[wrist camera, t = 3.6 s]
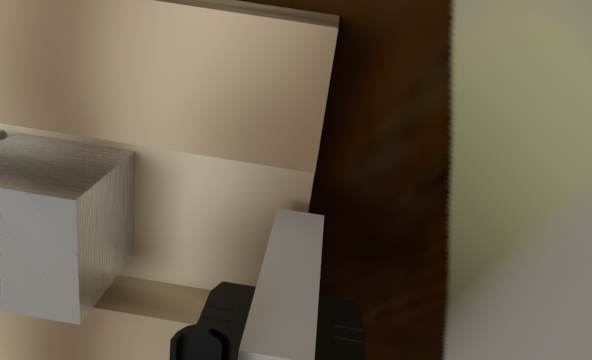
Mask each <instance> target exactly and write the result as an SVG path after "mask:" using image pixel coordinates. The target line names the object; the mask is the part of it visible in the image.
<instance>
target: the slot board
mask: <svg viewBox="0 0 592 360" xmlns="http://www.w3.org/2000/svg"><path fill="white" fill-rule="evenodd" d="M338 27H339V16H338V15H332V14H325V13H318V12H311V11H305V10H298V9H291V8H285V7H278V6H271V5H264V4H258V3H251V2H244V1H238V0H0V129H1V130H4V139H5V138H7V137H9V136H11V135H13V134H15V133H18V132H19V133H26V134H32V135H38V136H45V137H51V138H57V139H63V140H70V141H76V142H82V143H89V144H95V145H101V146H108V147H114V148H120V149H126V150H133V151H135V195H134V255H133V256H132V257H131V259H130V260H129V261H128V262H127V264H126V265H125V266H124V268H123V269H122V270H121V272H120V273H119V274H118V276H117V277H116V278H115V280H114V281H113V282H112V284H111V285H110V286H109V288H108V289H107V290H106V292H105V293H104V294H103V296H102V297H101V298H100V299H99V301H98V302H97V303H96V305H95V306H94V307H93V309H92V310H91V311H90V313H89V314H88V315H87V317H86V318H85V319H84V321H83V322H82V323H81V325H78V324H72V323H66V322H60V321H54V320H49V319H43V318H37V317H31V316H25V315H19V314H13V313H7V312H1V311H0V360H169V357H170V340H171V338H172V337H173V336H174V335H175V333H176V332H177V331H179V330H181V329H183V328H184V327H186V326H189V325H194V324H197V322H198V319H199V317H200V314H201V312H202V310H203V307H204V306H205V302H206V300H207V298H208V295H209V293H210V291H211V290H212V289H213V288H215V287H216V286H217V285H218V284H220V283H221V282H222V281H225V282H231V283H237V284H243V285H249V286H255V287H256V285H257V282H258V278H259V274H260V271H261V267H262V263H263V260H264V256H265V252H266V249H267V245H268V241H269V238H270V234H271V230H272V227H273V223H274V219H275V216H276V212H277V208H281V209H287V210H293V211H299V212H305V213H308V211H309V204H310V198H311V192H312V186H313V180H314V173H315V170H316V164H317V157H318V151H319V145H320V139H321V133H322V127H323V120H324V114H325V108H326V102H327V96H328V89H329V83H330V77H331V71H332V65H333V59H334V52H335V46H336V40H337V34H338Z"/></svg>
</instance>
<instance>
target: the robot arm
mask: <svg viewBox="0 0 592 360" xmlns="http://www.w3.org/2000/svg"><path fill="white" fill-rule="evenodd" d="M323 226H324V215H318V214H312V213H305V212H299V211H293V210H287V209H281V208H277V212H276V216H275V219H274V223H273V227H272V230H271V234H270V238H269V241H268V245H267V249H266V252H265V256H264V260H263V263H262V267H261V271H260V274H259V278H258V282H257V285H256V287H255V286H249V285H243V284H237V283H231V282H225V281H222V282H221V283H220V284H218V285H217V286H216V287H215V288H213V289H212V290H211V291H210V293H209V295H208V298H207V300H206V302H205V306H204V307H203V310H202V312H201V314H200V317H199V319H198V322H197V324H194V325H189V326H186V327H184V328H183V329H181V330H179V331H177V332H176V333H175V335H174V336H173V337H172V338H171V340H170V357H169V360H365V354H364V343H363V341H364V338H363V322H362V314H361V312H360V311H359V309H358V308H357V306H356V305H355V303H354V301H348V300H342V299H336V298H330V297H324V296H319V286H320V271H321V256H322V241H323Z"/></svg>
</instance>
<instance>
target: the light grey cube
mask: <svg viewBox="0 0 592 360" xmlns="http://www.w3.org/2000/svg"><path fill="white" fill-rule="evenodd" d="M134 195H135V151H133V150H126V149H120V148H114V147H108V146H101V145H95V144H89V143H82V142H76V141H70V140H63V139H57V138H51V137H45V136H38V135H32V134H26V133H19V132H18V133H15V134H13V135H11V136H9V137H7V138H5V139H3V140H1V141H0V311H1V312H7V313H13V314H19V315H25V316H31V317H37V318H43V319H49V320H54V321H60V322H66V323H72V324H78V325H81V323H82V322H83V321H84V319H85V318H86V317H87V315H88V314H89V313H90V311H91V310H92V309H93V307H94V306H95V305H96V303H97V302H98V301H99V299H100V298H101V297H102V296H103V294H104V293H105V292H106V290H107V289H108V288H109V286H110V285H111V284H112V282H113V281H114V280H115V278H116V277H117V276H118V274H119V273H120V272H121V270H122V269H123V268H124V266H125V265H126V264H127V262H128V261H129V260H130V259H131V257H132V256H133V255H134Z"/></svg>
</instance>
